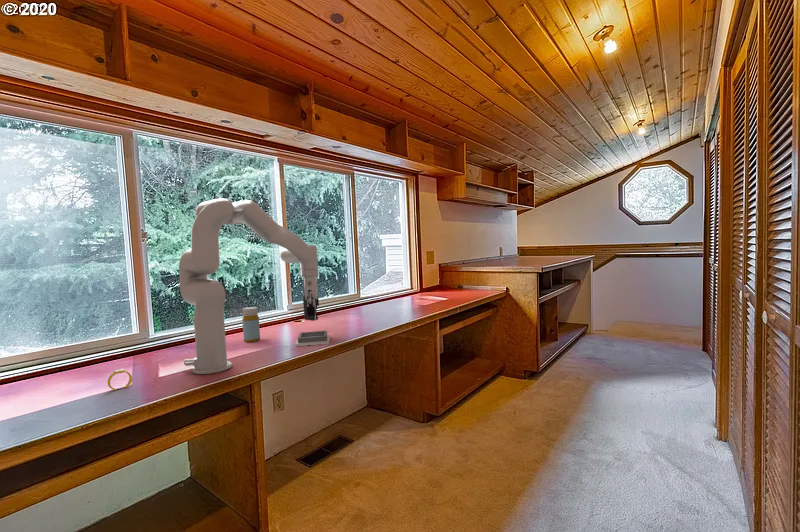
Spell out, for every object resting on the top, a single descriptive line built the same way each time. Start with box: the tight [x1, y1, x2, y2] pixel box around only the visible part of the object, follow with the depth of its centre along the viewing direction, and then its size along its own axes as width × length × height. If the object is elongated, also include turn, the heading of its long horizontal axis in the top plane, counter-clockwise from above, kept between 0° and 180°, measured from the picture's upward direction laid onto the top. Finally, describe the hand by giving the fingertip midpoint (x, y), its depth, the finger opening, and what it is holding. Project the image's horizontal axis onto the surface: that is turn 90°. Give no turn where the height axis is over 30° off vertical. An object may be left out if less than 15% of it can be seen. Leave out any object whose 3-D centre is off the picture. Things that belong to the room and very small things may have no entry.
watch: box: [107, 368, 133, 391], centre depth 122 cm, size 6×3×6 cm, turn 139°
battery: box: [302, 294, 320, 322], centre depth 173 cm, size 7×4×11 cm, turn 52°
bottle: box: [242, 306, 261, 343], centre depth 180 cm, size 7×7×15 cm
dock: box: [295, 330, 331, 348], centre depth 173 cm, size 14×14×3 cm
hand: (311, 314), depth 173 cm, fingers closed on battery, 6 cm apart
